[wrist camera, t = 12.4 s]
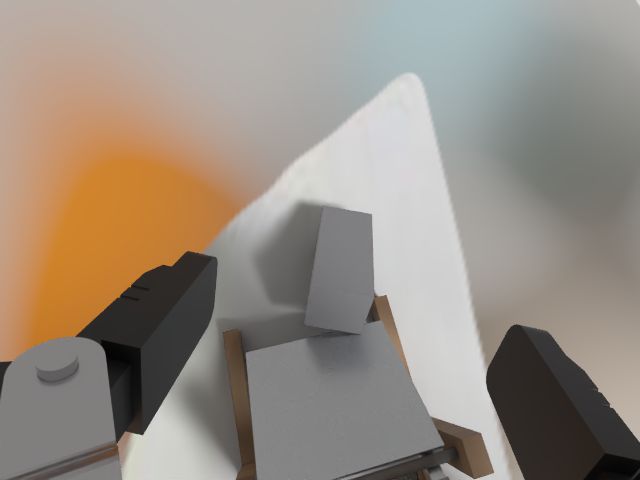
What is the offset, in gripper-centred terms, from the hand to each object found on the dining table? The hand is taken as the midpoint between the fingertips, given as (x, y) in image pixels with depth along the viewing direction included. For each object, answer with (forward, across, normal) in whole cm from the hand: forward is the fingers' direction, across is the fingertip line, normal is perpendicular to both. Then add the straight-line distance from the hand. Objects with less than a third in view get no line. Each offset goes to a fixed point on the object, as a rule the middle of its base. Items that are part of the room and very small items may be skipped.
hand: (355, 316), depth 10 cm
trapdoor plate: (+8, -3, +17) cm, 19 cm away
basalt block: (+14, -1, +10) cm, 17 cm away
